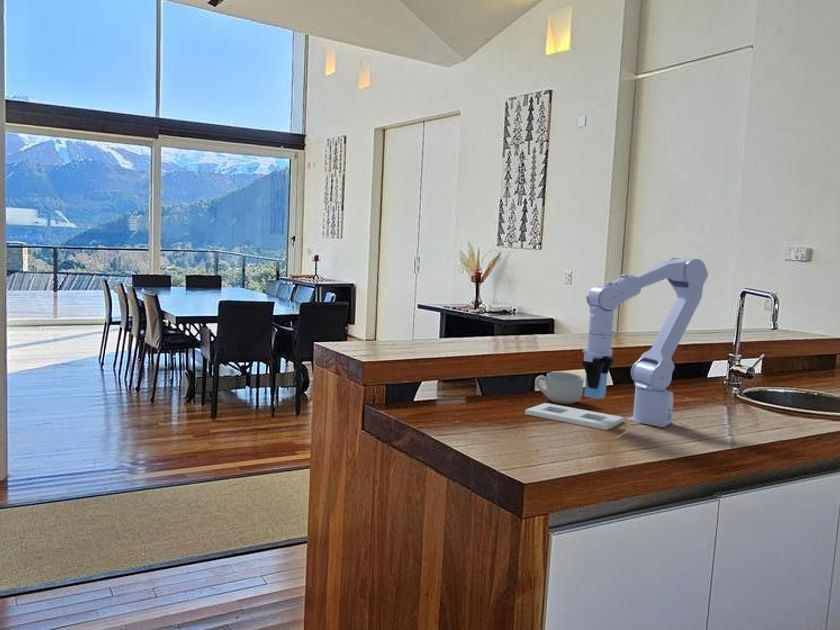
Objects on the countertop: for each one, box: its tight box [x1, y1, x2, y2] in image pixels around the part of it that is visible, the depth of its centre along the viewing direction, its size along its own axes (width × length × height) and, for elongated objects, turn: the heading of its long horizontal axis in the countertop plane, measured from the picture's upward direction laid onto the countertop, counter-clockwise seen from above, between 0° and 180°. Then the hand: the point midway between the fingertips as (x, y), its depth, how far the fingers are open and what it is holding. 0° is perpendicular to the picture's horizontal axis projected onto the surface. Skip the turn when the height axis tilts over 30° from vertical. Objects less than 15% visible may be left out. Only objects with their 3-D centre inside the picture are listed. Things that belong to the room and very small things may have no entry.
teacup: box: [534, 371, 585, 405], centre depth 205 cm, size 14×11×8 cm
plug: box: [584, 373, 608, 400], centre depth 181 cm, size 4×4×6 cm
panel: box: [524, 402, 625, 431], centre depth 185 cm, size 22×12×2 cm, turn 55°
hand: (596, 386), depth 181 cm, fingers closed on plug, 4 cm apart
